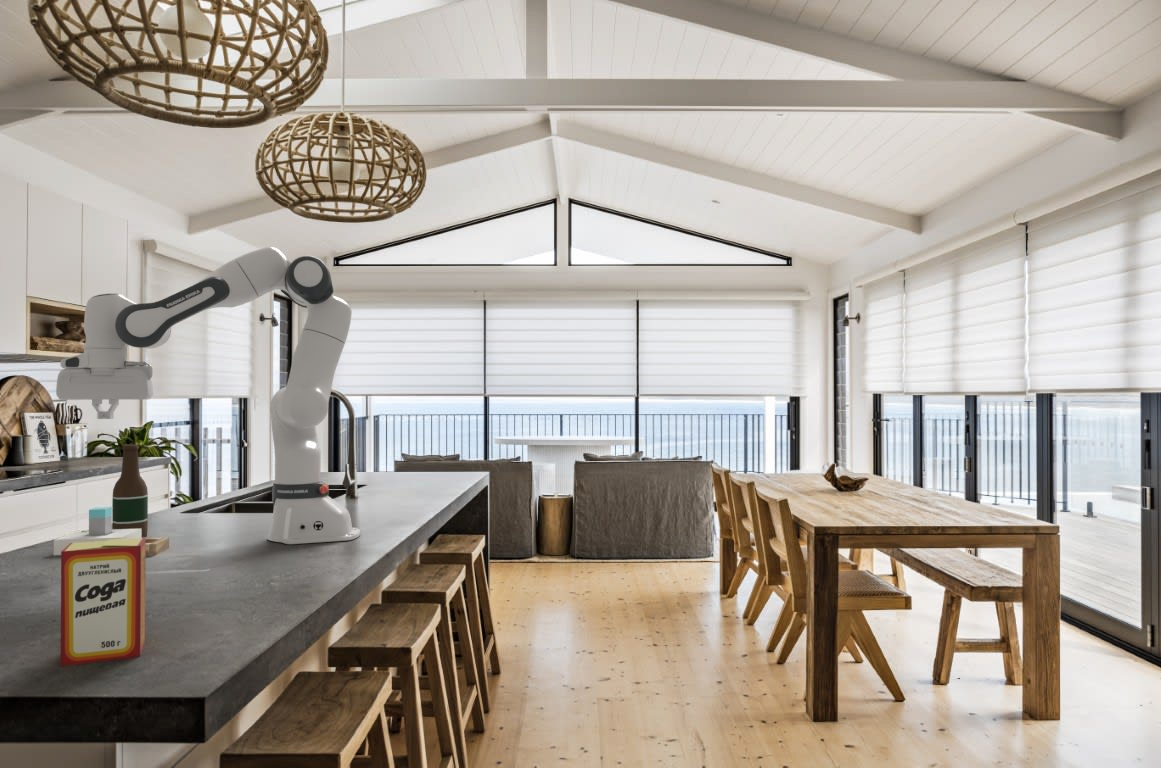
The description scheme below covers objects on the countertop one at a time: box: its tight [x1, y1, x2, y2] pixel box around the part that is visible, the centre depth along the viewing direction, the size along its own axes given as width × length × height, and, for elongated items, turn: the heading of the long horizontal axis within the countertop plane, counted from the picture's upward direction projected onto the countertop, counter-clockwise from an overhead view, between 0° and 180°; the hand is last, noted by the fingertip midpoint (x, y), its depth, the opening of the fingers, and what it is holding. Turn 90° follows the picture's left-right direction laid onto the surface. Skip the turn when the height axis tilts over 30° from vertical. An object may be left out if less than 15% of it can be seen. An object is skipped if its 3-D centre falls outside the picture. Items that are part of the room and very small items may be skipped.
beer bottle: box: [111, 443, 149, 538], centre depth 196 cm, size 8×8×24 cm
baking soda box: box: [59, 537, 147, 667], centre depth 110 cm, size 10×6×16 cm
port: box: [53, 529, 142, 556], centre depth 181 cm, size 14×12×4 cm
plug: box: [88, 506, 112, 536], centre depth 181 cm, size 4×4×9 cm
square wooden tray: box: [145, 537, 170, 557], centre depth 177 cm, size 8×8×3 cm
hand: (105, 418), depth 184 cm, fingers closed
